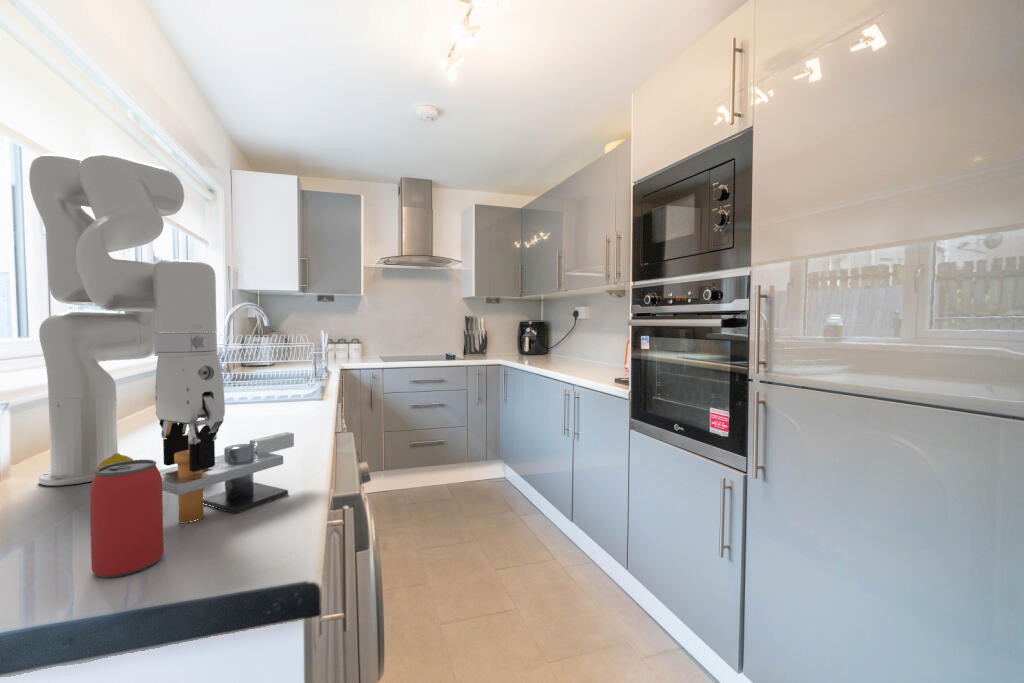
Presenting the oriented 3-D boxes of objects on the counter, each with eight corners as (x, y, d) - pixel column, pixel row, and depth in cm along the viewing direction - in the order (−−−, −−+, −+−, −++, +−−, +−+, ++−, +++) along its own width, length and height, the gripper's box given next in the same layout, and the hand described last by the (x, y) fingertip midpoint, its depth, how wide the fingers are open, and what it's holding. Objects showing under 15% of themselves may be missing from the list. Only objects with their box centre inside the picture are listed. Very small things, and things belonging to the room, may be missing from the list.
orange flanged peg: (197, 511, 70) (196, 447, 70) (212, 516, 68) (210, 450, 68) (169, 521, 67) (168, 453, 67) (184, 526, 65) (183, 457, 65)
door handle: (142, 522, 66) (140, 458, 66) (273, 479, 85) (272, 430, 85) (179, 535, 62) (177, 467, 62) (309, 487, 81) (308, 435, 81)
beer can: (121, 552, 57) (118, 458, 57) (176, 550, 58) (174, 457, 58) (75, 581, 51) (72, 475, 50) (138, 578, 51) (135, 473, 51)
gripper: (248, 345, 67) (250, 466, 67) (181, 343, 74) (183, 453, 75) (193, 347, 60) (195, 482, 60) (126, 345, 68) (129, 465, 68)
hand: (189, 464), depth 68 cm, fingers open, 6 cm apart
